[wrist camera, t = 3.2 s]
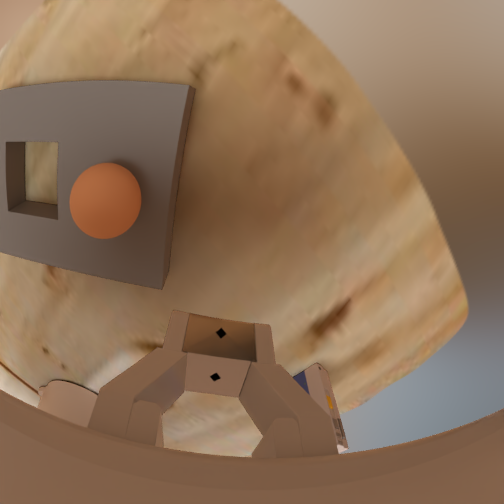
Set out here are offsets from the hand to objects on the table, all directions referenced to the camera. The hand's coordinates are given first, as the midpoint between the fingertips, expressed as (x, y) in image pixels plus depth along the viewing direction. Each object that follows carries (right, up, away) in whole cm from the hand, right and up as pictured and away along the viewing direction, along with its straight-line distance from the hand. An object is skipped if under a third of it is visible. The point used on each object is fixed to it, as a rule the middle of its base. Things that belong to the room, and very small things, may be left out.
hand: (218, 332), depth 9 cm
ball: (-8, +6, +8) cm, 13 cm away
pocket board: (-15, +9, +12) cm, 21 cm away
